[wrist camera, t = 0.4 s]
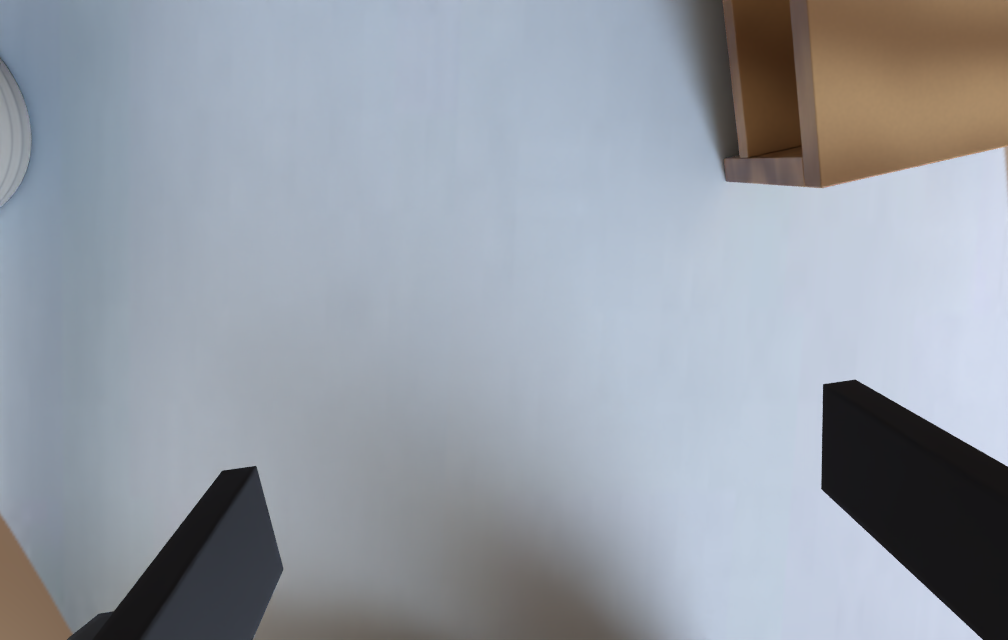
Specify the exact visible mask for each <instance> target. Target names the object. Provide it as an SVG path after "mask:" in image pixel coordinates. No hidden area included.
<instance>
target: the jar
mask: <svg viewBox="0 0 1008 640" xmlns="http://www.w3.org/2000/svg"><path fill="white" fill-rule="evenodd" d="M30 153H31V126H30V120H29V115H28V111H27V108H26V104H25V101H24V99H23V96H22V94H21V91H20V89H19V87H18V85H17V83H16V81H15V80H14V78H13V76H12V74H11V73H10V71H9V70H8V68H7V67H6V65H5V64H4V63H3V61H2V60H1V59H0V207H1V206H3V205H4V204H5V203H6V202H7V201H8V200H9V199H10V198H11V196H12V195H13V194H14V193H15V191H16V190H17V189H18V187H19V185H20V184H21V182H22V180H23V178H24V175H25V173H26V170H27V167H28V163H29V159H30Z"/></svg>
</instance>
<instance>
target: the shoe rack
mask: <svg viewBox="0 0 1008 640" xmlns="http://www.w3.org/2000/svg"><path fill="white" fill-rule="evenodd" d="M722 1H723V10H724V19H725V28H726V37H727V46H728V55H729V64H730V73H731V82H732V92H733V101H734V110H735V119H736V128H737V137H738V146H739V155H737V156H733V157H728V158H724V166H725V175H726V181H727V182H741V183H755V184H769V185H784V186H798V187H814V188H825V187H829V186H834V185H838V184H842V183H847V182H851V181H856V180H860V179H865V178H869V177H873V176H878V175H882V174H887V173H891V172H896V171H900V170H904V169H909V168H913V167H918V166H922V165H926V164H931V163H935V162H940V161H944V160H949V159H953V158H957V157H962V156H966V155H971V154H975V153H979V152H984V151H988V150H993V149H997V148H1002V147H1006V146H1008V0H722Z"/></svg>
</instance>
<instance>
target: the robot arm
mask: <svg viewBox="0 0 1008 640" xmlns="http://www.w3.org/2000/svg"><path fill="white" fill-rule="evenodd" d="M821 489H822V490H823V491H824V492H825V493H826V494H827V495H828V496H829V497H830V498H832V499H833V500H834V501H835V502H836V503H837V504H838V505H839V506H840V507H841V508H842V509H843V510H844V511H845V512H847V513H848V514H849V515H850V516H851V517H852V518H853V519H854V520H855V521H856V522H857V523H858V524H859V525H860V526H862V527H863V528H864V529H865V530H866V531H867V532H868V533H869V534H870V535H871V536H872V537H873V538H874V539H876V540H877V541H878V542H879V543H880V544H881V545H882V546H883V547H884V548H885V549H886V550H887V551H888V552H889V553H891V554H892V555H893V556H894V557H895V558H896V559H897V560H898V561H899V562H900V563H901V564H902V565H903V566H904V567H906V568H907V569H908V570H909V571H910V572H911V573H912V574H913V575H914V576H915V577H916V578H917V579H918V580H919V581H921V582H922V583H923V584H924V585H925V586H926V587H927V588H928V589H929V590H930V591H931V592H932V593H933V594H935V595H936V596H937V597H938V598H939V599H940V600H941V601H942V602H943V603H944V604H945V605H946V606H947V607H948V608H950V609H951V610H952V611H953V612H954V613H955V614H956V615H957V616H958V617H959V618H960V619H961V620H962V621H963V622H965V623H966V624H967V625H968V626H969V627H970V628H971V629H972V630H973V631H974V632H975V633H976V634H977V635H978V636H980V637H981V638H982V639H983V640H1008V467H1007V466H1005V465H1004V464H1002V463H1000V462H998V461H997V460H995V459H993V458H991V457H990V456H988V455H986V454H984V453H983V452H981V451H979V450H977V449H976V448H974V447H972V446H970V445H969V444H967V443H965V442H963V441H962V440H960V439H958V438H956V437H955V436H953V435H951V434H949V433H948V432H946V431H944V430H942V429H941V428H939V427H937V426H936V425H934V424H932V423H930V422H929V421H927V420H925V419H923V418H922V417H920V416H918V415H916V414H915V413H913V412H911V411H909V410H908V409H906V408H904V407H902V406H901V405H899V404H897V403H895V402H894V401H892V400H890V399H888V398H887V397H885V396H883V395H881V394H880V393H878V392H876V391H874V390H873V389H871V388H869V387H867V386H866V385H864V384H862V383H860V382H859V381H857V380H850V381H843V382H836V383H829V384H823V427H822V486H821ZM282 571H283V565H282V562H281V558H280V554H279V550H278V547H277V543H276V539H275V535H274V531H273V528H272V524H271V520H270V516H269V512H268V509H267V505H266V501H265V497H264V493H263V490H262V486H261V482H260V478H259V474H258V471H257V467H256V466H252V467H245V468H238V469H231V470H224V471H222V472H221V473H220V474H219V476H218V477H217V478H216V480H215V481H214V482H213V484H212V485H211V486H210V487H209V489H208V490H207V491H206V493H205V494H204V495H203V497H202V498H201V499H200V500H199V502H198V503H197V504H196V506H195V507H194V508H193V510H192V511H191V512H190V513H189V515H188V516H187V517H186V519H185V520H184V521H183V523H182V524H181V525H180V526H179V528H178V529H177V530H176V532H175V533H174V534H173V536H172V537H171V538H170V539H169V541H168V542H167V543H166V545H165V546H164V547H163V549H162V550H161V551H160V552H159V554H158V555H157V556H156V558H155V559H154V560H153V562H152V563H151V564H150V565H149V567H148V568H147V569H146V571H145V572H144V573H143V575H142V576H141V577H140V578H139V580H138V581H137V582H136V584H135V585H134V586H133V588H132V589H131V590H130V591H129V593H128V594H127V595H126V597H125V598H124V599H123V601H122V602H121V603H120V604H119V606H118V607H117V608H116V610H115V611H114V612H107V613H101V614H98V615H97V616H95V617H94V618H93V619H92V620H90V621H89V622H88V623H87V624H85V625H84V626H83V627H82V628H80V629H79V630H78V631H77V632H75V633H74V634H73V635H72V636H70V637H69V638H68V639H67V640H253V638H254V635H255V633H256V631H257V628H258V626H259V624H260V622H261V619H262V617H263V615H264V612H265V610H266V608H267V606H268V603H269V601H270V599H271V596H272V594H273V592H274V590H275V587H276V585H277V583H278V580H279V578H280V576H281V574H282Z"/></svg>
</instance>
